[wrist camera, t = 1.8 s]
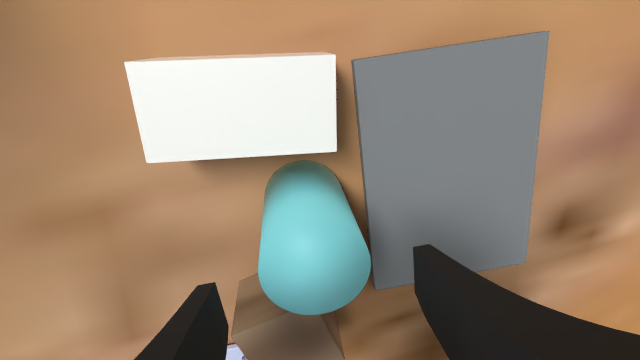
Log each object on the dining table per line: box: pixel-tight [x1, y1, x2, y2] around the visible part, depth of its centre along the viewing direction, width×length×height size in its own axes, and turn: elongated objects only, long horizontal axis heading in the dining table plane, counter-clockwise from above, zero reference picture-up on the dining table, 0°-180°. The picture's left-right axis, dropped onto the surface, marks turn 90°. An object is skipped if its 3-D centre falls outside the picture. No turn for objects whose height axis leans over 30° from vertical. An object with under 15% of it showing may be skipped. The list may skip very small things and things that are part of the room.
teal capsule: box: [258, 160, 371, 315], centre depth 17 cm, size 4×4×7 cm
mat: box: [351, 31, 549, 291], centre depth 20 cm, size 14×10×1 cm
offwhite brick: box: [124, 52, 337, 163], centre depth 16 cm, size 8×4×4 cm, turn 92°
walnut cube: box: [231, 274, 345, 360], centre depth 21 cm, size 4×4×4 cm
